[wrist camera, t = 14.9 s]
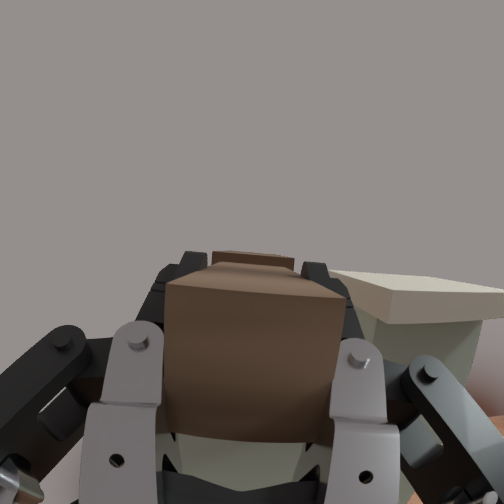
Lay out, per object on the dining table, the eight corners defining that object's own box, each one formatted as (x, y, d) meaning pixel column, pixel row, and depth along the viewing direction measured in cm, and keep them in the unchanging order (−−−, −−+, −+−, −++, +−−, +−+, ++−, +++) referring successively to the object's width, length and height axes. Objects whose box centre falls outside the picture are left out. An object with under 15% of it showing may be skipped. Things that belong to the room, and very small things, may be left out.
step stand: (184, 476, 30) (185, 257, 29) (373, 474, 30) (429, 276, 29) (163, 550, 15) (124, 268, 14) (407, 536, 15) (519, 292, 14)
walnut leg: (225, 296, 27) (229, 250, 27) (270, 299, 27) (275, 254, 27) (147, 442, 5) (142, 254, 5) (334, 455, 5) (373, 273, 5)
